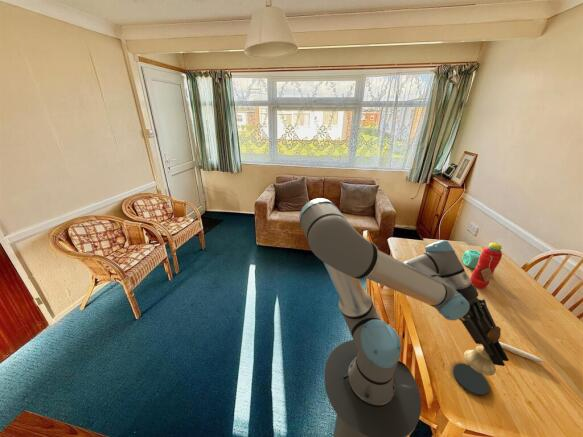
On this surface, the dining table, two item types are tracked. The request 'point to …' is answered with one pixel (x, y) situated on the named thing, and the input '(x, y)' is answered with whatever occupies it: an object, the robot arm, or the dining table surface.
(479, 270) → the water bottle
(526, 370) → the dining table surface
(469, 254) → the decorative dice
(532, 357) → the pen
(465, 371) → the corner coaster
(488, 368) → the hand bell
